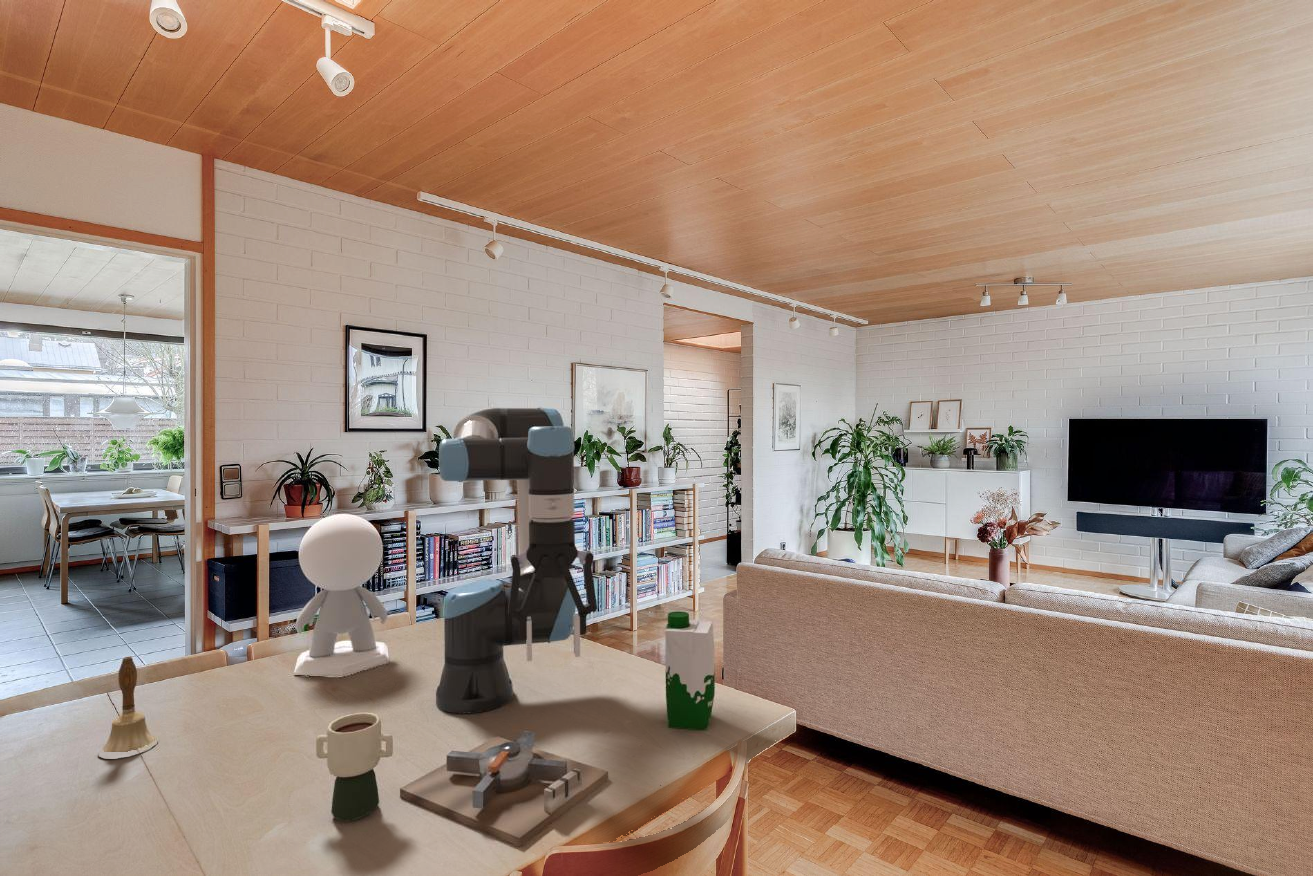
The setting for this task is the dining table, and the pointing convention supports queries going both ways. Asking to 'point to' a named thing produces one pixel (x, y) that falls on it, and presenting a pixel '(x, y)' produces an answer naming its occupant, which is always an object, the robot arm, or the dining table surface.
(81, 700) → the dining table surface
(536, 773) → the four-spoke handwheel
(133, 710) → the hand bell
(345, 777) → the character mug
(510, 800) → the wooden mounting board
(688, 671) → the milk carton
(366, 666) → the big headed doll
